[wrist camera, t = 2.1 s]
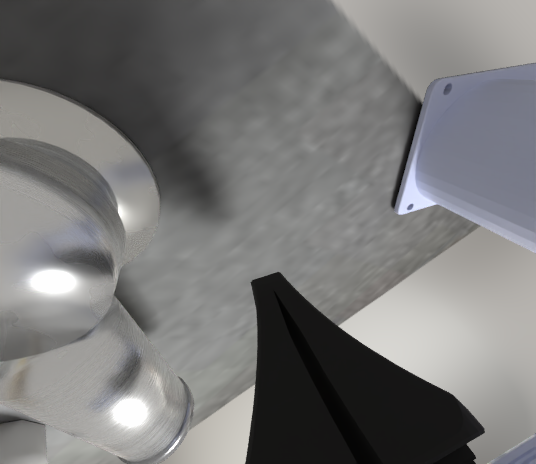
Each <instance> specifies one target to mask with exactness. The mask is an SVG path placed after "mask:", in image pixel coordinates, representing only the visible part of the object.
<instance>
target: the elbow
mask: <svg viewBox="0 0 536 464" xmlns="http://www.w3.org/2000/svg"><path fill="white" fill-rule="evenodd" d="M125 250H126V233H125V229H124V225H123V222H122V220H121V218H120V216H119V214H118V212H117V210H116V209H115V207H114V206H113V204H112V203H111V201H110V200H109V199H108V198H107V197H106V196H105V194H104V193H103V192H102V191H101V190H100V189H99V188H98V187H96V186H95V185H94V184H93V183H92V182H91V181H90V180H88V179H87V178H86V177H84V176H83V175H82V174H80V173H79V172H77V171H76V170H74V169H72V168H71V167H69V166H68V165H66V164H64V163H63V162H61V161H59V160H57V159H55V158H53V157H51V156H49V155H47V154H44V153H42V152H39V151H37V150H34V149H32V148H29V147H27V146H23V145H20V144H17V143H13V142H10V141H7V140H3V139H0V404H3V405H5V406H7V407H9V408H12V409H14V410H16V411H18V412H20V413H23V414H25V415H27V416H29V417H32V418H34V419H36V420H38V421H41V422H43V423H45V424H47V425H49V426H52V427H54V428H56V429H58V430H61V431H63V432H65V433H67V434H70V435H72V436H74V437H76V438H79V439H81V440H83V441H85V442H87V443H90V444H92V445H94V446H96V447H99V448H101V449H103V450H105V451H108V452H110V453H112V454H114V455H116V456H118V457H119V459H120V460H122V461H123V462H124V463H127V464H159V463H161V462H163V461H164V460H165V459H167V458H168V457H169V456H170V455H172V454H173V453H174V451H175V450H176V449H177V448H178V447H179V445H180V444H181V443H182V441H183V440H184V438H185V436H186V434H187V432H188V430H189V428H190V425H191V422H192V418H193V413H194V400H193V396H192V393H191V390H190V389H189V387H188V386H187V385H186V383H185V382H184V381H183V380H182V379H181V378H180V377H178V376H177V375H176V374H175V372H174V371H173V370H172V369H171V367H170V366H169V365H168V363H167V362H166V361H165V360H164V358H163V357H162V356H161V354H160V353H159V352H158V351H157V349H156V348H155V347H154V345H153V344H152V343H151V342H150V340H149V339H148V338H147V336H146V335H145V334H144V333H143V331H142V330H141V329H140V327H139V326H138V325H137V324H136V322H135V321H134V320H133V318H132V317H131V316H130V315H129V313H128V312H127V311H126V309H125V308H124V307H123V306H122V304H121V303H120V302H119V300H118V299H117V298H116V297H115V295H114V292H115V288H116V284H117V281H118V277H119V273H120V269H121V266H122V262H123V258H124V254H125Z"/></svg>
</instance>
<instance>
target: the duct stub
mask: <svg viewBox="0 0 536 464" xmlns="http://www.w3.org/2000/svg"><path fill="white" fill-rule="evenodd" d="M0 139H3V140H7V141H10V142H13V143H17V144H20V145H23V146H27V147H29V148H32V149H34V150H37V151H39V152H42V153H44V154H47V155H49V156H51V157H53V158H55V159H57V160H59V161H61V162H63V163H64V164H66V165H68V166H69V167H71V168H72V169H74V170H76V171H77V172H79V173H80V174H82V175H83V176H84V177H86V178H87V179H88V180H90V181H91V182H92V183H93V184H94V185H95V186H96V187H98V188H99V189H100V190H101V191H102V192H103V193H104V194H105V196H106V197H107V198H108V199H109V200H110V201H111V203H112V204H113V206H114V207H115V209H116V210H117V212H118V214H119V216H120V218H121V220H122V222H123V225H124V229H125V233H126V250H125V254H124V258H123V262H122V266H124V265H125V264H127V263H129V262H130V261H132V260H133V259H134V258H136V257H137V256H138V255H139V254H140V253H141V252H142V251H143V250H144V249H145V248H146V247H147V246H148V244H149V243H150V242H151V240H152V238H153V236H154V234H155V232H156V229H157V226H158V222H159V215H160V194H159V189H158V185H157V182H156V179H155V176H154V174H153V172H152V170H151V168H150V166H149V164H148V162H147V161H146V159H145V158H144V156H143V155H142V153H141V152H140V151H139V149H138V148H137V147H136V146H135V145H134V143H133V142H132V141H131V140H130V139H129V138H128V137H127V136H126V135H125V134H124V133H123V132H122V131H121V130H120V129H118V128H117V127H116V126H115V125H113V124H112V123H111V122H110V121H108V120H107V119H106V118H104V117H103V116H101V115H100V114H98V113H97V112H95V111H94V110H92V109H90V108H89V107H87V106H85V105H83V104H81V103H79V102H77V101H75V100H73V99H72V98H69V97H67V96H64V95H62V94H59V93H57V92H54V91H52V90H49V89H46V88H42V87H39V86H36V85H32V84H29V83H23V82H18V81H13V80H8V79H0ZM122 266H121V267H122Z"/></svg>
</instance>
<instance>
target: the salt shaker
mask: <svg viewBox="0 0 536 464" xmlns="http://www.w3.org/2000/svg"><path fill="white" fill-rule="evenodd" d="M0 464H48V458H47V448H46V430H45V425H42V424H38V423H33V422H29V421H25V420H19V421H13V422H8V423H2V424H0Z"/></svg>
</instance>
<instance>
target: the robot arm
mask: <svg viewBox="0 0 536 464" xmlns="http://www.w3.org/2000/svg"><path fill="white" fill-rule="evenodd" d="M444 88H445V89H444ZM436 204H439V205H441V206H443V207H445V208H447V209H449V210H451V211H453V212H455V213H457V214H459V215H461V216H463V217H465V218H467V219H469V220H471V221H473V222H475V223H477V224H478V225H480V226H483V227H484V228H487V229H489V230H491V231H492V232H494V233H496V234H498V235H500V236H502V237H504V238H506V239H508V240H510V241H512V242H514V243H516V244H518V245H520V246H522V247H524V248H526V249H528V250H531V251H532V252H534V253H536V63H531V64H525V65H520V66H513V67H507V68H501V69H494V70H488V71H482V72H476V73H470V74H464V75H457V76H451V77H445V78H439V79H436V80H434V81H433V82H431V84H430V85H429V86H428V88H427V91H426V94H425V98H424V102H423V105H422V109H421V113H420V116H419V120H418V124H417V127H416V131H415V135H414V138H413V142H412V146H411V149H410V153H409V157H408V160H407V164H406V168H405V172H404V175H403V179H402V183H401V186H400V190H399V194H398V197H397V201H396V205H395V210H394V211H395V212H396V213H397V214H399V215H402V214H406V213H409V212H412V211H416V210H419V209H422V208H426V207H429V206H432V205H436ZM251 285H252V290H253V295H254V300H255V305H256V310H257V328H258V348H257V370H256V383H255V395H254V405H253V414H252V421H251V429H250V436H249V444H248V451H247V457H246V463H245V464H476V463H475V462H474V461H473V460H474V459H476V457H475V455H474V453H473V452H472V451H471V450H470V448H469V447H468V446H467V443H468V442H470V441H471V440H473V439H475V438H477V437H478V436H480V435H482V434H483V433H485V431H484V428H483V426H482V425H481V424H480V423H479V422H478V421H477V419H476V418H475V417H474V416H473V415H472V414H471V413H470V412H469V410H468V409H466V407H465V406H463V404H462V403H461V402H460V401H458V400H457V399H456V398H455V397H454V396H453V395H452V394H450V393H449V392H447V391H445V390H443V389H441V388H439V387H437V386H435V385H433V384H431V383H429V382H427V381H425V380H423V379H421V378H419V377H417V376H415V375H414V374H412V373H410V372H408V371H407V370H405V369H403V368H401V367H399V366H398V365H396V364H394V363H393V362H391V361H389V360H388V359H386V358H384V357H383V356H381V355H379V354H378V353H376V352H375V351H373V350H371V349H370V348H368V347H367V346H365V345H363V344H362V343H361V342H359V341H358V340H356V339H355V338H353V337H352V336H350V335H349V334H348V333H346V332H345V331H343V330H342V329H341V328H339V327H338V326H337V325H336V324H334V323H333V322H332V321H331V320H329V319H328V318H327V317H326V316H324V315H323V314H322V313H321V312H320V311H318V310H317V309H316V308H315V307H314V306H313V305H312V304H311V303H309V302H308V301H307V300H306V299H305V298H304V297H303V296H302V295H301V294H300V293H299V292H298V291H297V290H296V289H295V288H294V287H293V286H292V285H291V284H290V283H289V282H288V281H287V280H286V279H285V278H284V276H283V275H282V274H281V273H280V272H277V273H273V274H270V275H267V276H264V277H261V278H258V279H255V280H253V281H252V282H251ZM487 464H536V433H535V434H533V435H532V436H530V437H528V438H527V439H526V440H524V441H523V442H520V443H519V444H517V445H516V446H514V447H512V448H511V449H509V450H508V451H506V452H504V453H503V454H501V455H500V456H498V457H497V458H495V459H494V460H492V461H490V462H488V463H487Z"/></svg>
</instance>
